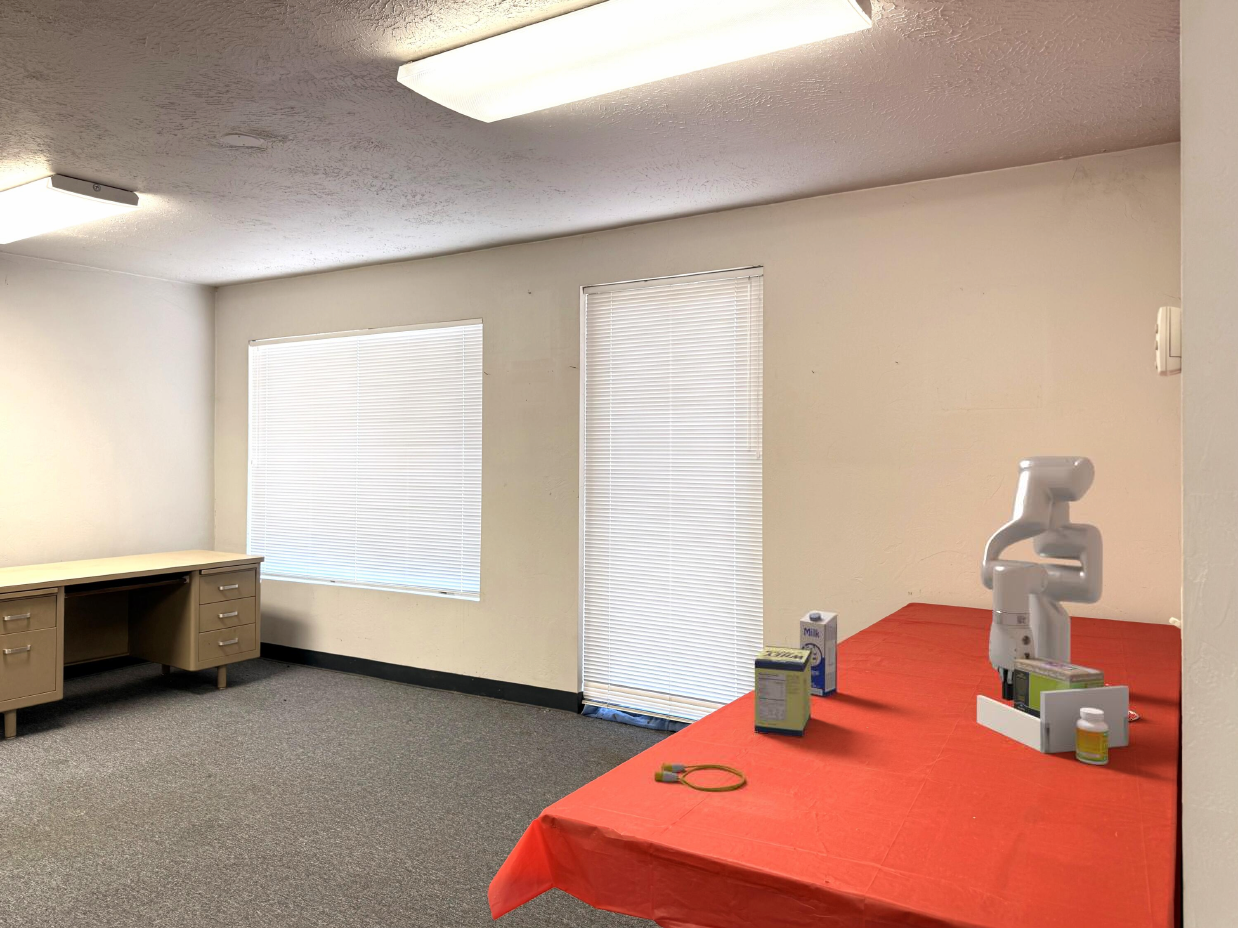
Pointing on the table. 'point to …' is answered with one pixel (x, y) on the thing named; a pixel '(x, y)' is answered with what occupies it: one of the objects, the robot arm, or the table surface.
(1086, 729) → the supplement bottle
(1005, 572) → the robot arm
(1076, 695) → the display bay
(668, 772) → the extension cord
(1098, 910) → the table surface
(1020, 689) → the tea box
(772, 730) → the protein box
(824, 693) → the milk carton
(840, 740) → the table surface
